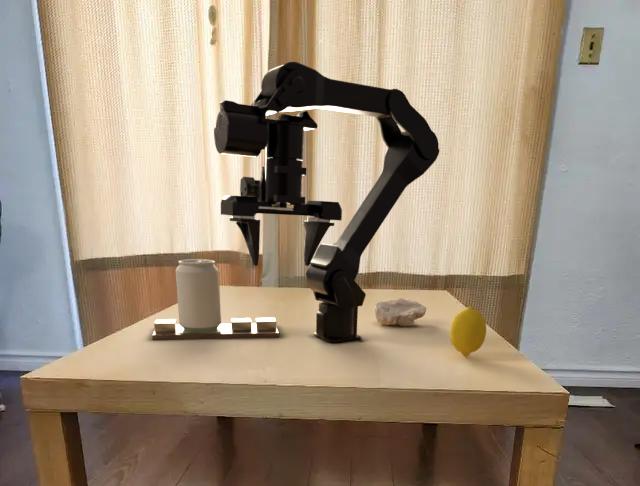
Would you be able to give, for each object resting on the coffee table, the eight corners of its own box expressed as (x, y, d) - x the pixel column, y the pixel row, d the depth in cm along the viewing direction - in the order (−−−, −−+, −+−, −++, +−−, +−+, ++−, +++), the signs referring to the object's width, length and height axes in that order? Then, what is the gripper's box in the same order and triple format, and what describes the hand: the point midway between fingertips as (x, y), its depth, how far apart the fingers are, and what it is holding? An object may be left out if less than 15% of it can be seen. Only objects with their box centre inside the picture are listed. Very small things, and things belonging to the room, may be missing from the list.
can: (172, 327, 105) (166, 259, 101) (208, 322, 110) (204, 257, 105) (192, 334, 100) (187, 263, 95) (229, 329, 104) (226, 260, 100)
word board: (274, 326, 111) (274, 314, 110) (279, 337, 103) (278, 324, 102) (157, 328, 108) (156, 316, 107) (152, 339, 100) (151, 326, 99)
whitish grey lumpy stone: (434, 312, 112) (392, 293, 108) (418, 342, 114) (376, 324, 110) (416, 300, 120) (376, 282, 116) (402, 329, 122) (362, 312, 118)
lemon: (490, 358, 91) (496, 308, 89) (464, 362, 89) (470, 310, 86) (466, 350, 96) (471, 302, 93) (440, 354, 93) (445, 304, 90)
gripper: (312, 166, 99) (308, 261, 104) (207, 157, 90) (209, 260, 95) (346, 164, 90) (340, 267, 95) (234, 153, 81) (234, 267, 86)
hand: (281, 265), depth 93 cm, fingers open, 9 cm apart
